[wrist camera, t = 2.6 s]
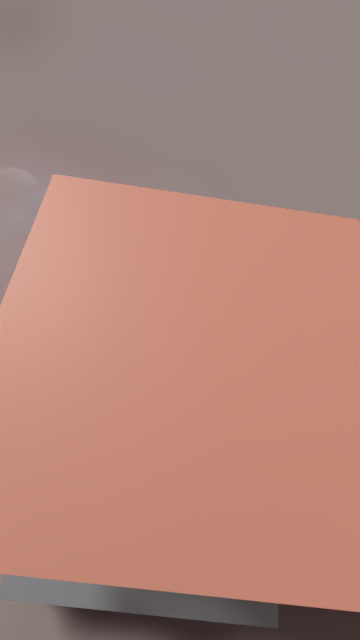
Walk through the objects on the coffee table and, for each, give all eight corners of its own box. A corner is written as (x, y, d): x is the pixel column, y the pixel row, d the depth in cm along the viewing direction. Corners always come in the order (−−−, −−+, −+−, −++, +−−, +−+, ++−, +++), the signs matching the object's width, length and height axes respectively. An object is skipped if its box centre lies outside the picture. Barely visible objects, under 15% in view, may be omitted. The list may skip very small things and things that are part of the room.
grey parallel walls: (249, 589, 14) (278, 628, 11) (33, 565, 14) (-3, 599, 10) (252, 346, 19) (272, 324, 16) (93, 325, 19) (81, 298, 15)
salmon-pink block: (203, 485, 16) (430, 620, 3) (107, 474, 15) (-104, 562, 3) (209, 389, 18) (358, 219, 5) (125, 378, 18) (53, 174, 5)
